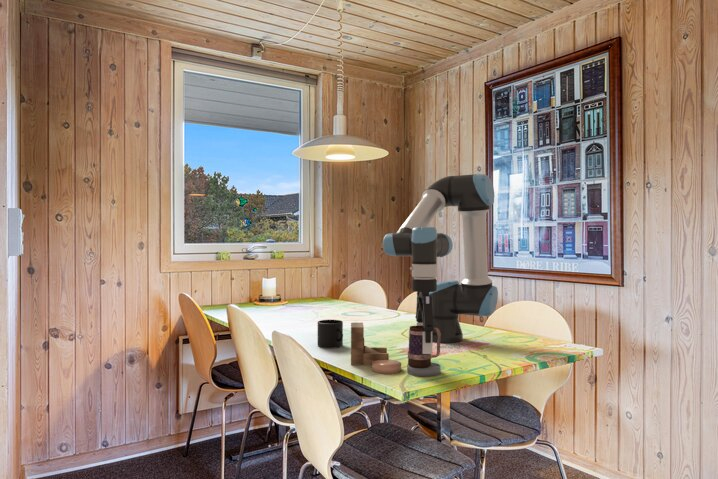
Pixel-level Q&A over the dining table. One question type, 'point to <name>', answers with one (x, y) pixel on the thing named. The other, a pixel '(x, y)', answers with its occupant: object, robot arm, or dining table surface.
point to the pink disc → (386, 366)
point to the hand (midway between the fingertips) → (424, 348)
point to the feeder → (364, 348)
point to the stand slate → (425, 370)
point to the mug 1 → (330, 333)
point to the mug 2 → (420, 348)
